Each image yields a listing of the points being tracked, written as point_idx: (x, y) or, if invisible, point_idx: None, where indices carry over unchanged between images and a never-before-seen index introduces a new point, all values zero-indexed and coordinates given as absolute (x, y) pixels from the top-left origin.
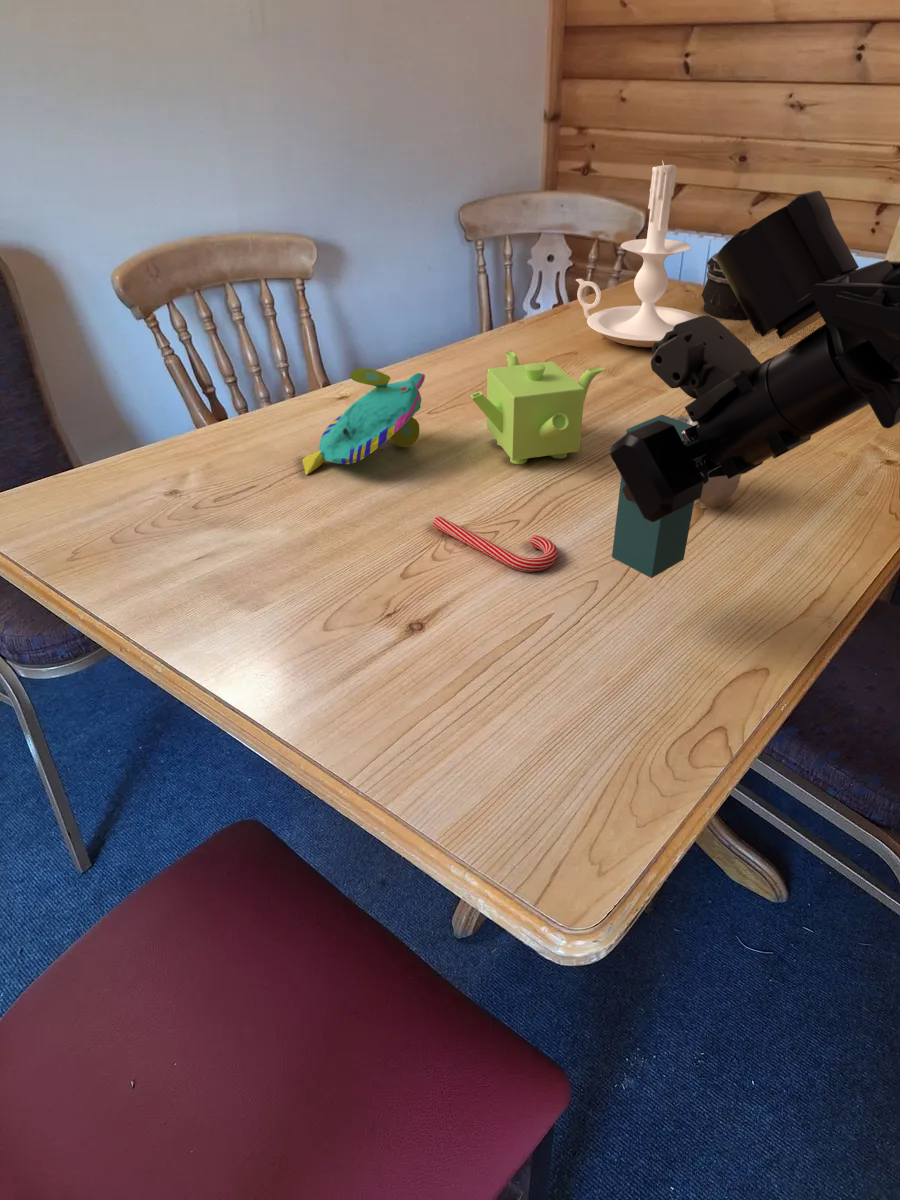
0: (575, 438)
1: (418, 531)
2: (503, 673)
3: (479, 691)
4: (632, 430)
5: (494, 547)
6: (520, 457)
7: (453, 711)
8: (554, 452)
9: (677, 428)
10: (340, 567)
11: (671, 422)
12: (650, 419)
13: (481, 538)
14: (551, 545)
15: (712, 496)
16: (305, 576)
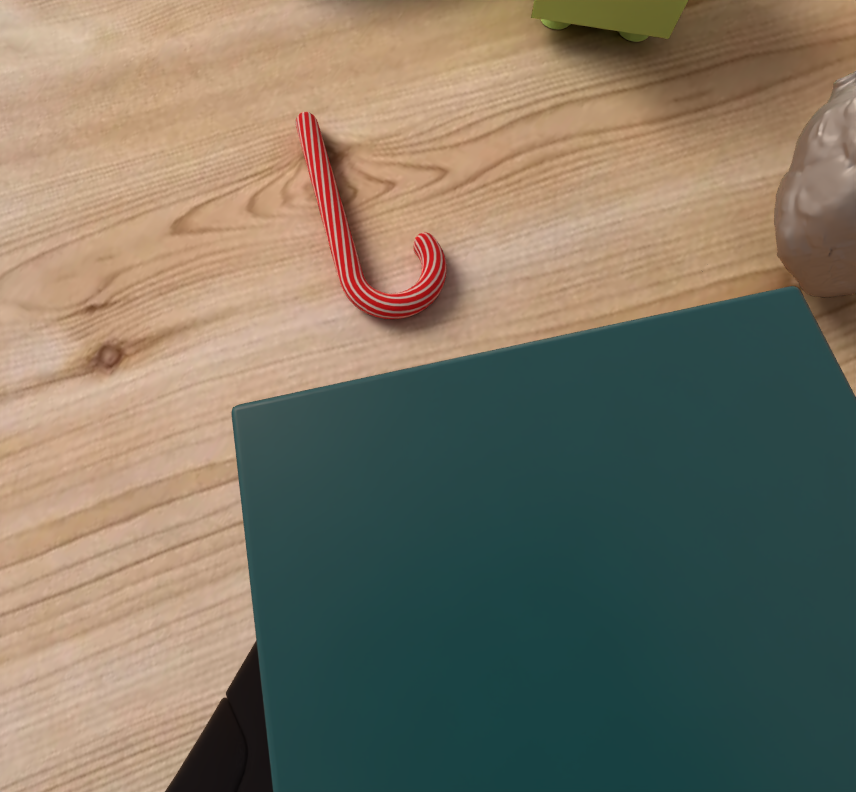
0: (673, 5)
1: (274, 128)
2: (150, 542)
3: (85, 565)
4: (251, 469)
5: (335, 235)
6: (548, 15)
7: (15, 590)
8: (618, 25)
9: (780, 715)
10: (106, 161)
11: (796, 509)
12: (616, 327)
13: (331, 201)
14: (432, 276)
15: (829, 288)
16: (45, 159)
